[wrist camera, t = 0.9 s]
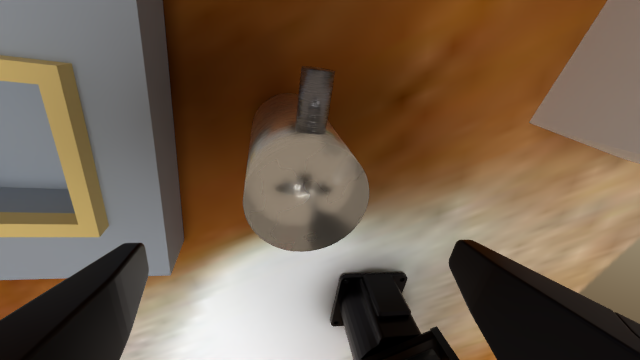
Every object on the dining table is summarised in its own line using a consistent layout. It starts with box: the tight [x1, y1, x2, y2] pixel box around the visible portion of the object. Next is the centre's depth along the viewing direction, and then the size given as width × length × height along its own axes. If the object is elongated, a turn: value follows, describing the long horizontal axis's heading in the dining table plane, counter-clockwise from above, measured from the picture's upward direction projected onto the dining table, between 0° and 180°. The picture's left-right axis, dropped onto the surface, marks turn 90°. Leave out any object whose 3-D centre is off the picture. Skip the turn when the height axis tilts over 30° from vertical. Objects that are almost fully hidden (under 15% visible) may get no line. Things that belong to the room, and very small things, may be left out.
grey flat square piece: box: [0, 0, 184, 280], centre depth 14 cm, size 16×14×4 cm
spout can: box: [243, 66, 369, 251], centre depth 14 cm, size 7×5×9 cm
